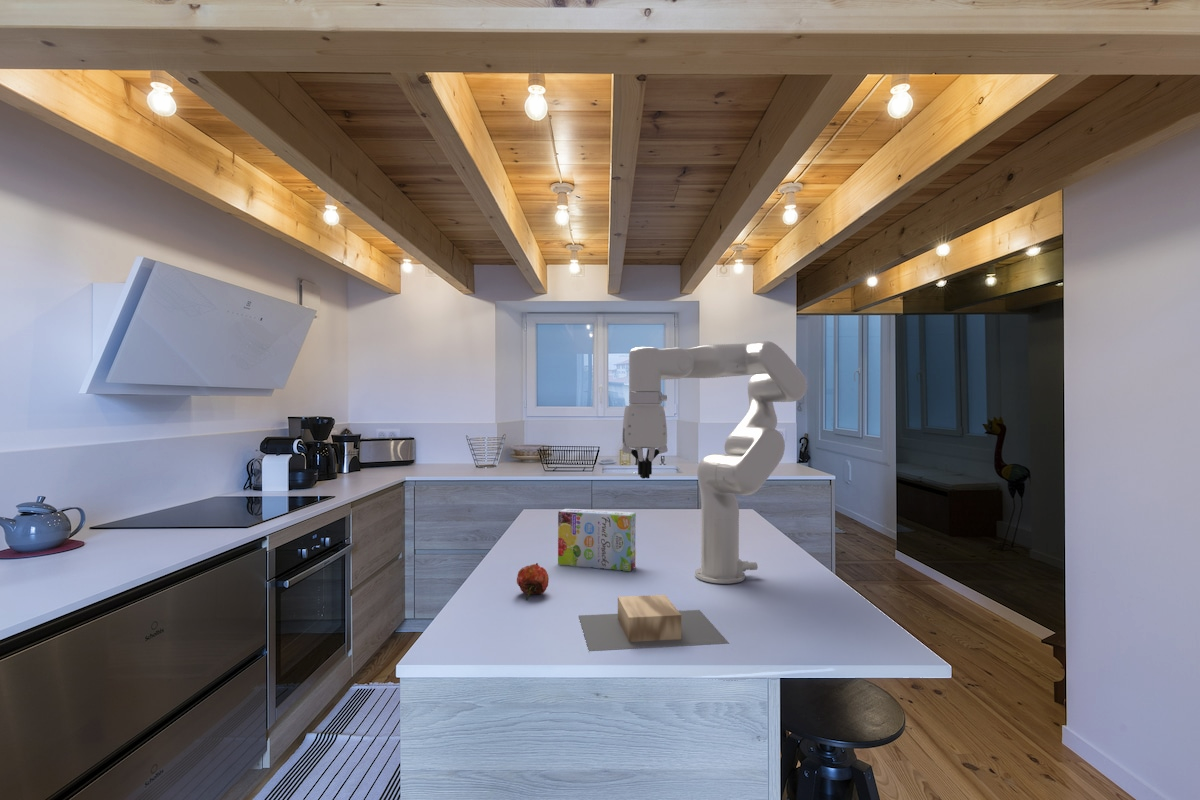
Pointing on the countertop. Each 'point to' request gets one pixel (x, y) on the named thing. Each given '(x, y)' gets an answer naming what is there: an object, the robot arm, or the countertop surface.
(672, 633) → the slab
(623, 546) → the snack box
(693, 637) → the mat
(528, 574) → the pomegranate
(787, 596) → the countertop surface
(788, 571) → the countertop surface
